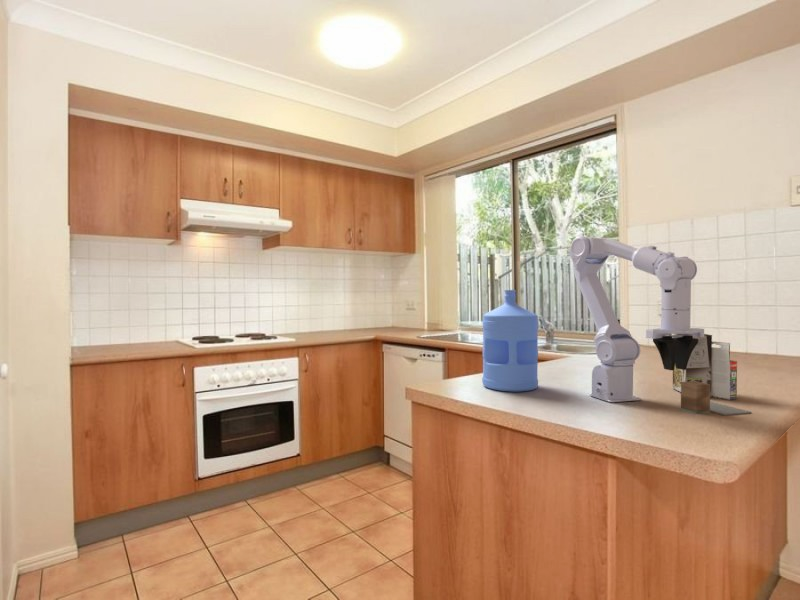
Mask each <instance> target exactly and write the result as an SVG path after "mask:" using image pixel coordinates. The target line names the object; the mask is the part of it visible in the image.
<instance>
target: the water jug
mask: <svg viewBox="0 0 800 600" xmlns="http://www.w3.org/2000/svg"><path fill="white" fill-rule="evenodd" d="M516 292H517V290H516V289H504V303H503V304H502V305H500V306H498V307H496V308H494V309H492V310H490V311H488V312H486V313H484V314H483V317H482V318H483V319H482V331H483V332H482V333H483V334H482V379H481V380H482V381H481V382H482V385H483V386H484V387H485V388H488V389H490V390H493V391H494V390H495V391H498V392H500V391H501V392H512V393H513V392H514V393H515V392H516V393H517V392H518V393H519V392H521V393H522V392H530V391H534V390H536V389H537V388H538V386H539V380H538V363H539V362H538V359H539V349H538V348H539V346H538V343H539V342H538V337H539V335H538V333H539V317H538V315H537V314H536V313H534V312H532V311H530V310H528V309H526V308H524V307H522V306H521V305H519V304H517V302H516V301H517V300H516V299H517V295H516Z"/></svg>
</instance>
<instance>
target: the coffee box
mask: <svg viewBox="0 0 800 600" xmlns="http://www.w3.org/2000/svg"><path fill="white" fill-rule="evenodd" d="M672 335H685V334H672ZM676 338H678V337H676ZM693 338H696V339H698V344H697V345H696V346H695V348H694V349H693V351H692V353H691V355H690V358H689V361H688V364H687V367H686V370H682V369H677V368H676V366H675V367H674V370H672V389H673V390H675V391H678V392H680V393H681V382H687V381H697V382H702V383H706V384H710V397H712V396H711V358H712V347H713V344H712V341H713V335H712V334H708V333H704V337H693Z"/></svg>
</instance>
